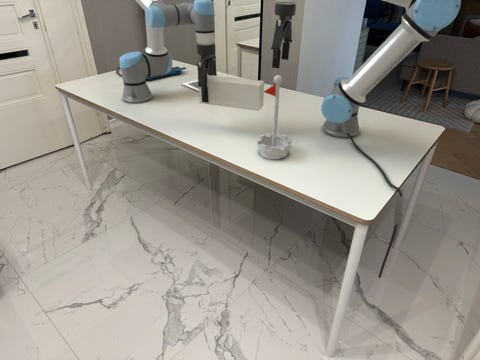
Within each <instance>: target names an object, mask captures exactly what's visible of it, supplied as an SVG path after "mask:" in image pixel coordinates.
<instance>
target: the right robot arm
mask: <svg viewBox="0 0 480 360" xmlns="http://www.w3.org/2000/svg"><path fill="white" fill-rule="evenodd" d="M297 1H298V0H275V2H276V3H274V15H275V16H278V19H276V20H275V26H274V27H275V28H274V33H273V39H272V44H271V47H270V50H272V61H271V68H272V69H280V68H281V67H280V66H281V60H286V61H289V55H290V46H291V43H293V38H292V37H293V36H292V35H293V33H292V32H293V30H292V29H293V27H292V26H293V24H292V23H293V22H292V20H293V17H295V15H296V10H297V5H296V3H297ZM382 1H383V2H386V3H390V4H393V5H396V6H399V7H403V8H405V12H404V13H403V14H402V16H401V23H400V24H399V25H398V27H396V29H395V30H394V31H392V33H391V34H390V35H389V36H388V37H387V38H386V39H385V41H383V42H382V43H381V44H380V45H379V46H378V48H377V49H376V50H375V51H374V52H373V53H372V54H370V56H369V57H368V58H367V59H366V60H365V61H364V62H363V63H362V64H361V65H360V66H359V68H358V69H357V70H355V72H353V74H352V75H351V76H350V77H349V76H339V77H336V78H334V81H333V86H332V87H333V88H332V89H331V91H330V92H329V93H328V95H327V96H325V97H324V99H323V101H322V103H321V106H320V108H321V109H320V110H321V113H322V116H323V118H324V119H326V120H325V121H324V123H323V126H322V130H323V132H324V133H325V134H326V135H329V136H332V137H335V138H339V139H341V138H342V139H349V140H350V141H351V143H352V145H353V146H354V147H355V148H356V150H358V151H359V153H361V154H362V155H363V156H364V157H366V158H367V159H368V160H369V161H370V162H372V163H373V164H374V166H376V168H377V169H378V170H379V172H380V173H381V175H382V176H383V178H384V180H385V182H386V183H387V184H388V186H389V187H391V188H392V189H394V190H396V191H397V192H398V195H399V196H400V197H403V193H402V190H401V189H400V188H399V187H398V186H396V185H394V184H392V183H391V181H390V179H389V178H388V176H387V174H386V173H385V171H384V170H383V168H381V167H382V166H380V165H379V164H378V162H376V161H375V160H374V158H372V157H370V156H369V155H368V154H367V153H365V152H364V151H363V150H362V149H361V148H360V147H359V146H358V145H357V143H356V142H355V140H354V139H353V138H354V137H356V136H357V135H359V132H360V125H359V118H358V117H359V116H358V114H359V111H360V110H359V109H360V107H361V106H362V105H363V104H364V103H365V102H366V96H367V95H368V93H370V92H371V91H372V89H374V88H375V87H376V86H377V85H378V84H379V83H380V82H381V81H382V80H383V79H384V78H385V77H386V76H387V75H388V74H389V73H390V72H391V71H392V70H393V69H394V68H396V67H397V65H399V64H400V63H401V62H402V61H403V60H404V59H405V58H406V57H407V56H408V55H409V54H410V53H412V52H413V51H414V49H415V48H416V47H417V46H418V45H419V44H420V43H423V42H429V41H431V39H433V38H434V37H435V36H436V35H437V34H438V33H439V32H440V31H441V30H442V29H444V28H446V27H447V26H449V25H450V24H451V23H452V22H453V21H454V20H455V19H456V18H457V16H458V14H459V13H460V12H459V11H460V9H461V4H462V0H382ZM281 48H282V49H281ZM398 225H399V224H394V227H393V231H392V234H391V238H390V240H389V244H388V246H387V249H386V253H385V255H384V258H383V261H382V264H381V267H380V270H379V273H378V275H377V276H378V279H381V277H382V274H383V271H384V268H385V265H386V262H387V260H388V257H389V255H390V252H391V248H392V246H393V243H394V240H395V237H396V232H397V230H398V229H397V228H398Z"/></svg>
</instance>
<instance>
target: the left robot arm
mask: <svg viewBox="0 0 480 360" xmlns="http://www.w3.org/2000/svg"><path fill="white" fill-rule="evenodd" d="M134 1H135V2H136V3H137V4H138V5H139V6H140V7H141V9H143V11H144V18H145V30H146V47H145V48H144V53H142V52H141V51H131V52H127V53H125V54H122V55H121V56H120V57H119V66H118V67H116V71H115V72H116V74H117V75H118V76H119V77H122V82H123V90H122V100H123V101H124V102H125V103H128V104H140V103H145V102H148V101H150V100H151V99H153V95H152V92H151V90H150V88H149V85H148V84H147V79H146V77H152V76H157V75H164V74H167V73H169V72H170V71H171V69H172V67H173V58H172V54H171V53H170V51H168V50H169V49H168V48H167V47H166V46H165V32H164V31H165V28H168V27H176V26H177V27H179V26H187V25H188V26H189V25H193V26H194V28H195V37H196V38H195V40H196V41H195V42H196V43H197V44H196V53H197V55H199V56H200V60H199V61H197V62H196V67H197V80H198V87H201V93H202V102H207V103H208V102H209V101H208V87H207V76H208V75H212V76H218V74H217V72H218V71H217V56H216V55H215V54H216V50H217V49H216V44H215V43H216V27H215V26H216V24H215V22H216V21H215V5H214V1H213V0H194V1H193V3H192V2H189V1H188V2H182V3H177V4H166V3H165V2H163V0H134ZM119 70H120V72H121V73H120V72H118V71H119Z"/></svg>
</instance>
